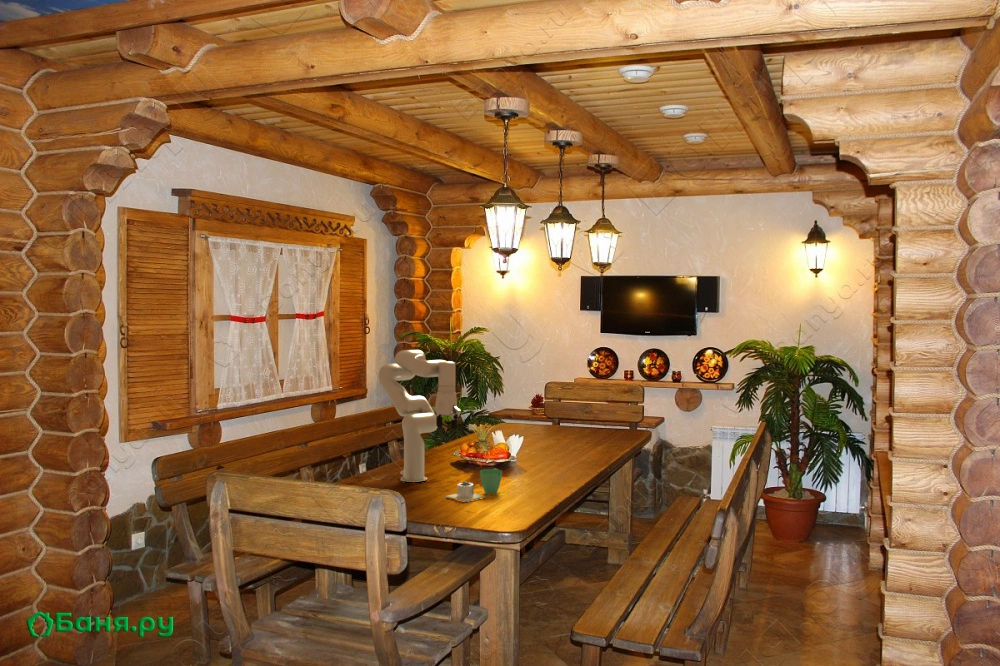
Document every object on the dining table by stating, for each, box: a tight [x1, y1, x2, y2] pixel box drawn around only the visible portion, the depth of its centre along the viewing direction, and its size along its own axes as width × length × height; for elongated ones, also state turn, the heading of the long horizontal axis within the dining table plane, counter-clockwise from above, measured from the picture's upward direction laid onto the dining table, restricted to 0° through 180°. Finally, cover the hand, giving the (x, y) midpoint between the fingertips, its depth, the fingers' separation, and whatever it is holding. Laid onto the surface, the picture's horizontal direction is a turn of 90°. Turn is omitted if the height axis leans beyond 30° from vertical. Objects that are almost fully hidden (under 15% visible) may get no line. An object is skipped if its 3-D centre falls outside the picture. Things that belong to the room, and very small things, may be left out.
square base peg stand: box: [445, 481, 486, 502], centre depth 354 cm, size 12×12×7 cm
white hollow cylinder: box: [456, 482, 475, 498], centre depth 354 cm, size 7×7×5 cm
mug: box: [479, 468, 503, 495], centre depth 365 cm, size 15×10×10 cm
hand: (446, 427), depth 367 cm, fingers open, 9 cm apart
